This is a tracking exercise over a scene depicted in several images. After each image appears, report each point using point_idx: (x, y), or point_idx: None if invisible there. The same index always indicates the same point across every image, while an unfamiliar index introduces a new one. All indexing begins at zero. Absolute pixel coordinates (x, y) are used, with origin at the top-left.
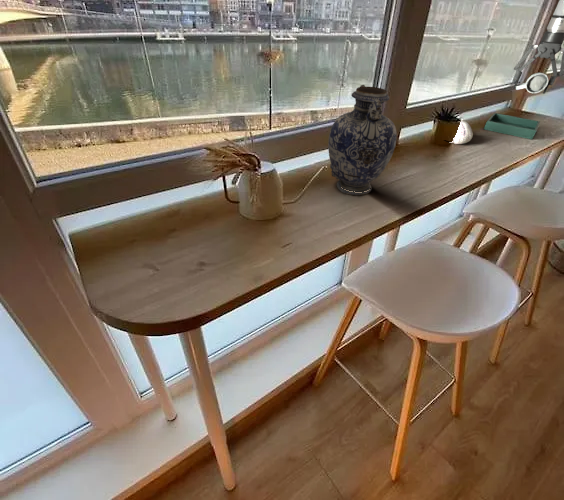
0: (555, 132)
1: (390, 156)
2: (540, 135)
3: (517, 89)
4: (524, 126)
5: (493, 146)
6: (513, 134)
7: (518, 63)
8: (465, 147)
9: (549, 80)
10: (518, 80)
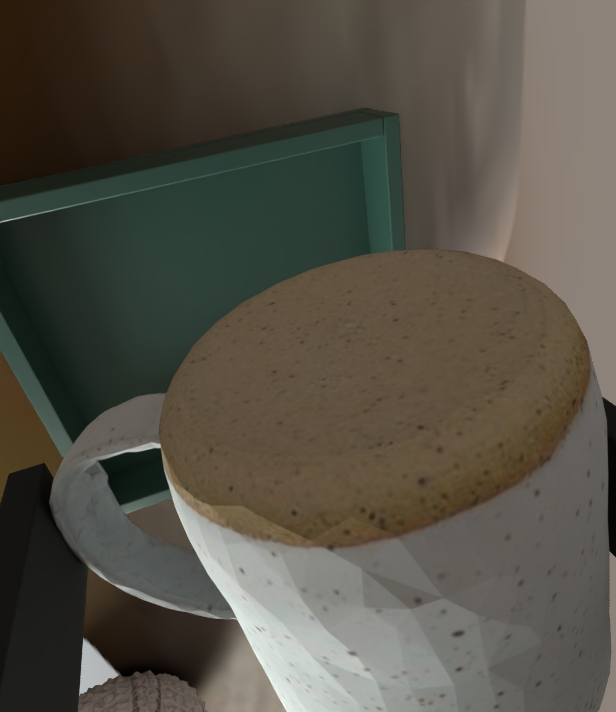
0: (498, 36)
1: None
2: (414, 247)
3: (146, 544)
4: (283, 169)
5: None
6: None
7: None
8: (211, 703)
9: (614, 549)
10: (68, 661)
